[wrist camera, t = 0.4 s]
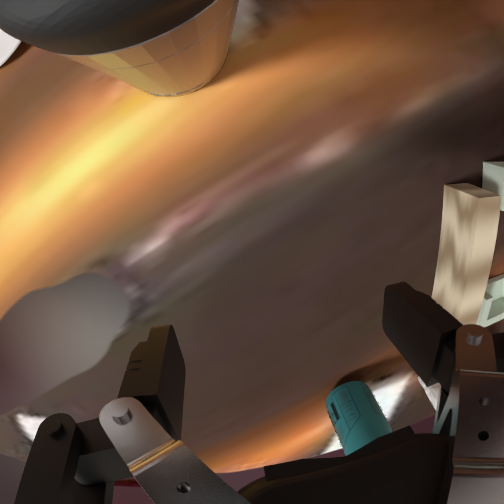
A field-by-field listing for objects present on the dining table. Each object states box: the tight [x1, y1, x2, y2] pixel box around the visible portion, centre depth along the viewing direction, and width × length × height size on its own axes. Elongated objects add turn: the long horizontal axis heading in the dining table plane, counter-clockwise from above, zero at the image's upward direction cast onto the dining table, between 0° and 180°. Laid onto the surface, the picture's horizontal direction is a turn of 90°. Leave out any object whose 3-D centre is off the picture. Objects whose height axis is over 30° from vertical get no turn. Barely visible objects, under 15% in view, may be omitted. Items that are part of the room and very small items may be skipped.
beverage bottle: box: [326, 381, 393, 456], centre depth 30 cm, size 6×7×20 cm
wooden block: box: [432, 183, 501, 325], centre depth 30 cm, size 17×4×6 cm, turn 7°
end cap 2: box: [476, 274, 504, 327], centre depth 35 cm, size 5×10×4 cm, turn 97°
